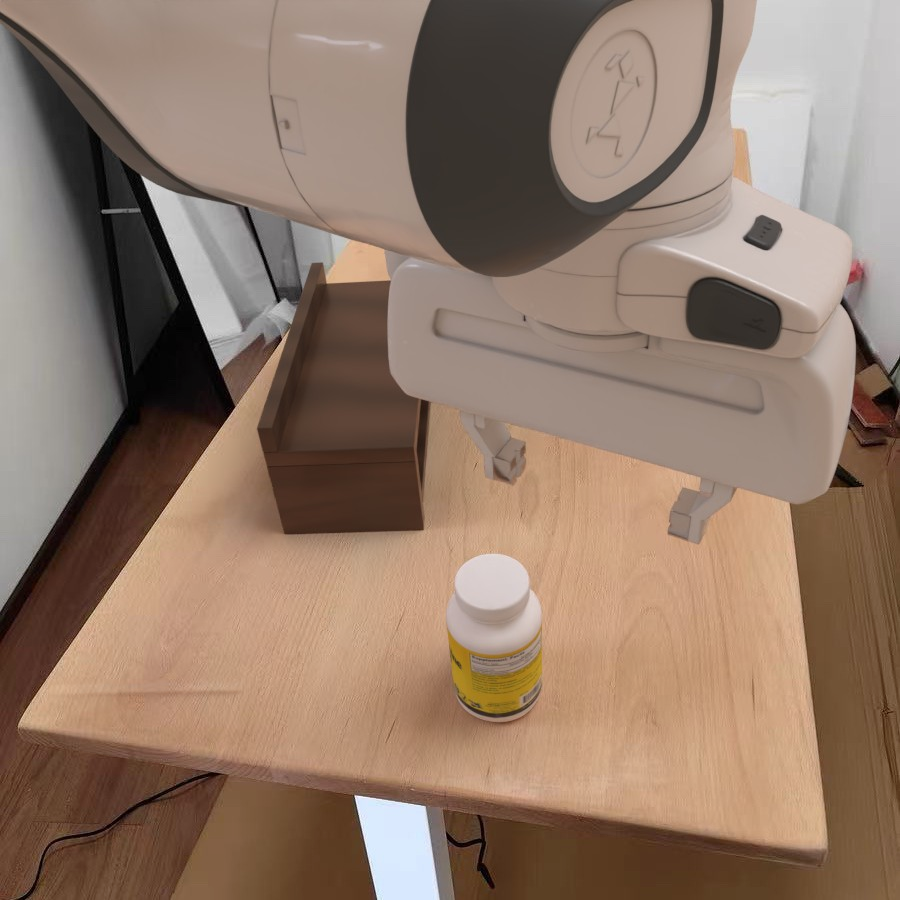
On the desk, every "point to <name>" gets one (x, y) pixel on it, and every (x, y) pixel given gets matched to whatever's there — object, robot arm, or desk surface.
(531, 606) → the pill bottle
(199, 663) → the desk surface
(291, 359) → the shelf
